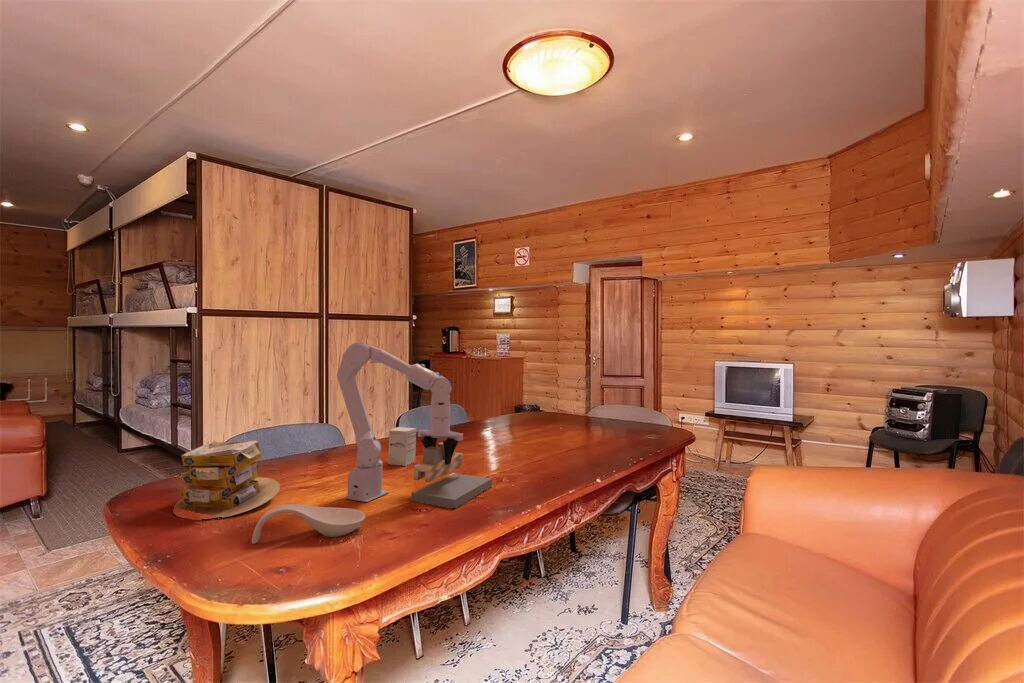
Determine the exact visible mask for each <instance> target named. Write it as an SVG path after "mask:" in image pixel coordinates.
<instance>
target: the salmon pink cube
mask: <svg viewBox="0 0 1024 683" xmlns="http://www.w3.org/2000/svg"><path fill="white" fill-rule="evenodd" d="M436 447H442V458H445V451H444V445H443V441H442V442H438V443H436ZM455 453H456V449H455V450H454V452H453V456H452V457H454V456H455Z"/></svg>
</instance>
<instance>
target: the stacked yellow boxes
mask: <svg viewBox="0 0 1024 683" xmlns="http://www.w3.org/2000/svg"><path fill="white" fill-rule="evenodd" d="M188 450H189V451H186V452H185V453H183V454H181V461H182V464H183V467H188V466H189V467H188V469H186V470H184V471H182V472H181V473H180V477H181V482H182V484H184V485H186V486H184V487H182V489H181V490H182V493H181V496H182V498H181V499H179V500H178V501H177V502H176V503H175V504H174V505H173V507H174V508H179V509H185V510H186V511H187V510H188V511H191V512H193V511H194V512H195V513H200V514H207V515H210V516H212V517H214V518H215V517H222V518H221V519H223V518H226V517H227V518H228V517H231V516H235V515H240V514H242V513H245V512H248V511H251V510H253V509H255V508H257V507H260V506H262V505H265V503H267V502H269V501H270V500H271V499H273V498H274V497H275V496H276V495H277V494H278V493H279V491H280V489H281V484H280V483H279V481H277V480H275V479H272V478H269V477H261V476H260V477H259V476H258V471H257V469H258V468H259V464H257V461H259V460H260V459H262V452H261V448H260V443H259V442H258V440H250V441H249V440H248V441H241V442H240V441H235V440H234V441H233V442H232V441H230V442H229V441H220V442H218V441H210V442H207V443H205V444H203V445H201V446H198V447H196V448H193V449H188ZM188 511H187V512H188Z"/></svg>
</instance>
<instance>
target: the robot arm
mask: <svg viewBox="0 0 1024 683" xmlns="http://www.w3.org/2000/svg"><path fill="white" fill-rule="evenodd" d="M368 362H369V363H370V364H383V365H385V366H387V367H390V368H391V369H393V370H395V371H398V372H399V373H402V374H404V375H405V376H406V379H407V381H408V382H410V383H412V384H414V385H415V386H418V387H420V388H422V389H423V390H425V391H431V401H430V429H419V430H417V437H419V438H422V437H423V438H422V439H421V443H422V445H423V447H424V448H427V447H430V446H433V447H437V440H438V439H440V440H442V439H443V441H442V442H443V445H444V451H445V465H448V464H450V463H451V459H452V456H453V452H454V450H455V451H456V447H457V445H458V444H459V442H461V441H463V440H464V433H463V432H462V433H461V432H456V431H452V430H451V401H450V399H451V393H452V389H453V387H452V384H451V381H450V380H448V379H447V378H446V377H444V375H440V373H439V372H437V371H436V372H434V371H433V370H431V369H429V368H426V364H423V363H421V364H419V363H415V364H409V363H408V362H406V361H404V360H402V359H400V358H398V357H397V356H395V355H394V354H391V353H390V352H388V351H386V350H384V349H382V348H378V347H376V346H372V345H369V344H367V343H365V342H354V343H351V344H350V345H349V346H348V347H347V349H345V351H344V352H343V354H342V357H341V360H340V364H339V368H338V371H337V374H336V376H337V380H338V384H339V387H340V391H341V394H342V397H343V399H344V403H345V406H346V410H347V413H348V416H349V420H350V423H351V425H352V429H353V432H354V437H355V444H356V447H357V452H356V459H357V461H356V463H355V467H354V468H353V469H352V470H350V471H349V472H348V476H347V495H345V497H344V498H345V499H347V500H353V501H358V502H364V503H369V502H371V501H374V500H375V499H378V498H380V497H382V496H384V495H387V494H389V491H388V490H383V461H382V460H381V452H382V446H383V445H382V444H381V442H380V441H379V439H377V438H376V434H375V433H374V430H373V428H372V425H371V423H370V420H369V416H368V412H367V410H366V407H365V406H366V405H365V404H364V399H363V397H362V393H361V391H360V388H359V383H358V380H357V375H358V374H359V373H360V371H361V369H362V367H363V366H364V365H366V364H367V363H368Z"/></svg>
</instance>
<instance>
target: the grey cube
mask: <svg viewBox="0 0 1024 683" xmlns="http://www.w3.org/2000/svg"><path fill="white" fill-rule="evenodd" d="M422 462H423V463H428V464H437V463H439V462H442V447H437V446H436V447H433V446H430V447H427V448H425V447H424V448H423V449H422Z"/></svg>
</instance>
